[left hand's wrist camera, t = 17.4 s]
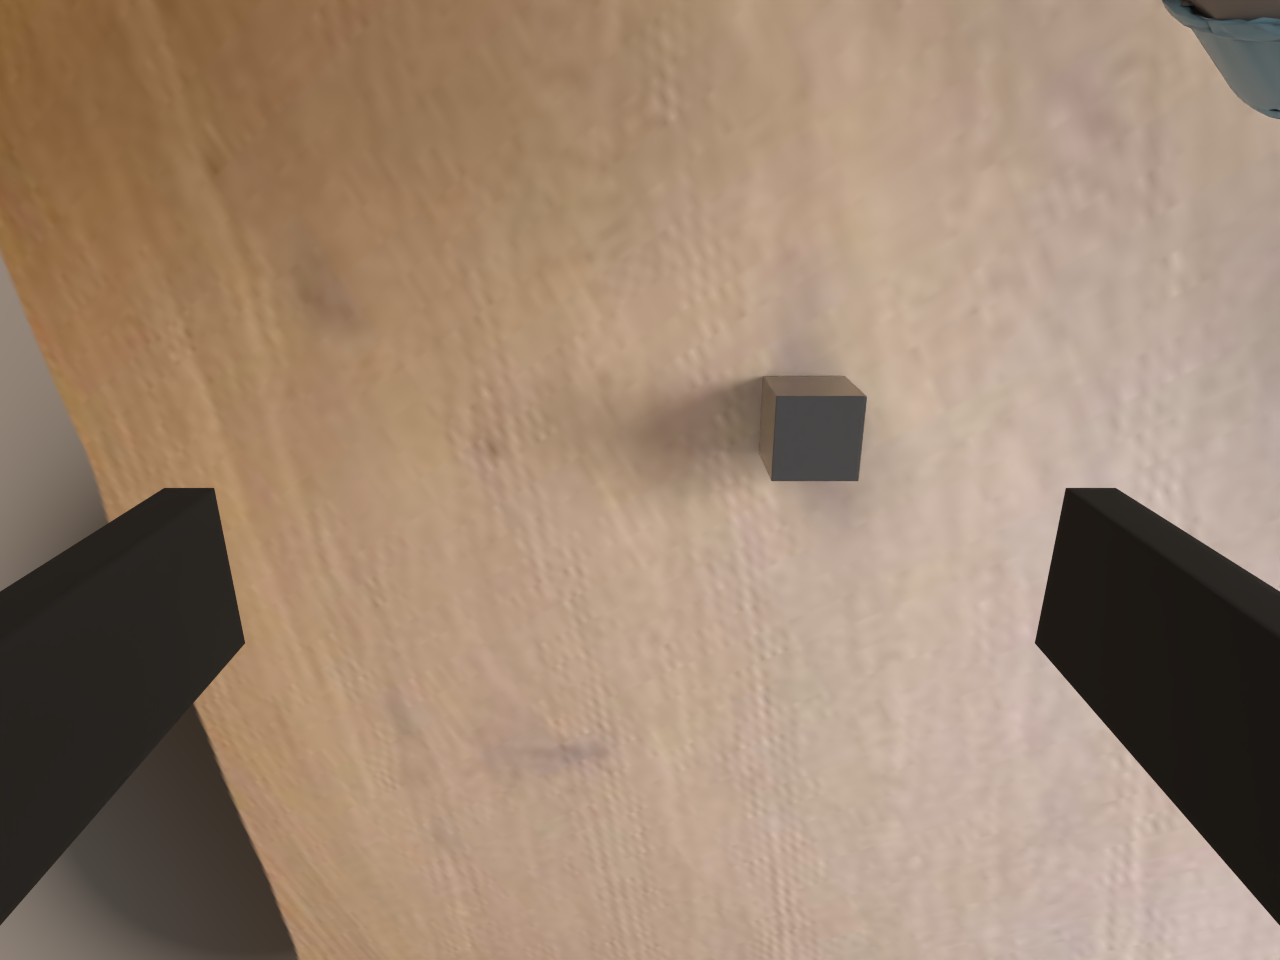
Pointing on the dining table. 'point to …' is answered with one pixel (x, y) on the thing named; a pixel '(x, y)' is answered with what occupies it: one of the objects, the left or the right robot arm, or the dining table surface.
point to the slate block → (811, 428)
